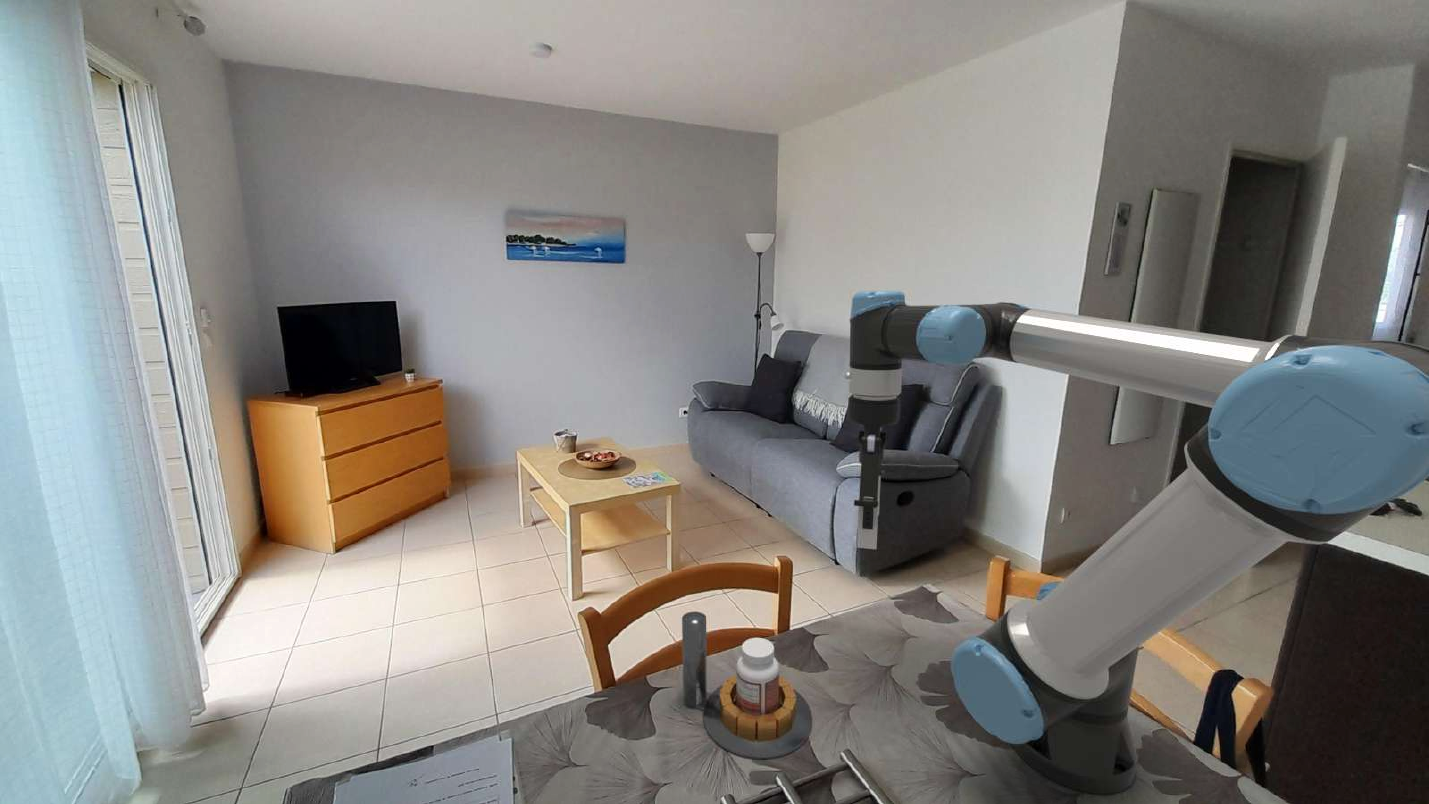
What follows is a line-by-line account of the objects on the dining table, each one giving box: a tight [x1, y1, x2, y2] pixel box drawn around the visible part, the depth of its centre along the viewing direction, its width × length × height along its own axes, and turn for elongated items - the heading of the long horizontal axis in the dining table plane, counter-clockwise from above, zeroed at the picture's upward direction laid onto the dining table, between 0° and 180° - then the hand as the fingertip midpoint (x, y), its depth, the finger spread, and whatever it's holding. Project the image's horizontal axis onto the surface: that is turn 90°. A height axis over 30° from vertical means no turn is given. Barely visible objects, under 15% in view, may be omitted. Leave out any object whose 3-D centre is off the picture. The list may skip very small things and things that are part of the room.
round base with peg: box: [681, 611, 813, 760], centre depth 87 cm, size 20×16×14 cm
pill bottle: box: [736, 637, 780, 715], centre depth 86 cm, size 6×6×11 cm
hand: (868, 529), depth 92 cm, fingers open, 13 cm apart
